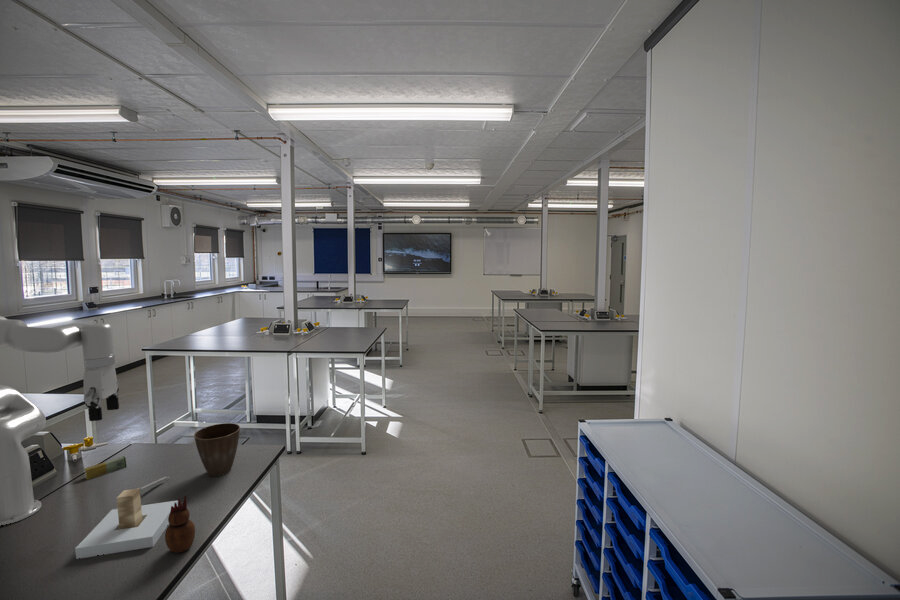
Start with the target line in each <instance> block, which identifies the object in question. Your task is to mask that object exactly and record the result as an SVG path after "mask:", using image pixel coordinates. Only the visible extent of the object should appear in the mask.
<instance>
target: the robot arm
mask: <svg viewBox="0 0 900 600" xmlns="http://www.w3.org/2000/svg"><path fill="white" fill-rule="evenodd" d="M78 347H81V348H82V356H83V357H82V358H83V359H82V360H83V367H84V373H83V401H84V402H85V406H86V409H87V410H88V421H89V422H97V421H98V422H99V421H102V420H103V411H102V407H101V404H102V402H103V400H105V402H106V410H107V411H115V410H120V403H119V385H120V382H119V381H118V377H117V372H116V368H115V367H116V357H115V356H116V355H115V348H114V347H115V345H114V336H113V328H112V325H111V324H109V323H107V322H101V323H100V322H99V323H98V322H97V323H81V322H80V323H79V322H73V323H68V324H63V325H62V324H61V325H57V326H52V327H35V326H28V325H27V323H26V322H24V321H23V320H21V319H8V318H6V317H4V316H3V315H0V348H11V349H13V350H16V351H19V352H25V353H45V354H47V353H49V354H50V353H58V352H64V351H66V350H70V349H75V348H78ZM46 424H47V419H46V416H45V414H44V413H43V411H42V410H41V409H40V408H39V407H38V406H37V405H35V404H34V403H33V402H31V401H30V400H29V398H27V397H26V396H24V395H23V394H22V393H21V392H19V390H17V389H15V388H13V387H12V386H8V385H4V384H0V527H2V526H1V525H3V526H7V525H10V523H11V524H13V523H16V522H19V521H22V520H24V519H26V518H28V517H30V516H32V515H34V514H36V513H37V512H38V511H39V510H41V508H42V502H41V501H40V500H37V499H35V498H34V490H33V489H34V488H33V482H32V472H31V463H30V457H29V453H28V451H27V449H26V448H24V447H23V445H22V442H23V441H25V440H27V439H29V438H31V437H33V436H34V435H36V434H38V433H40V432H42V430H43V429H44V428H45V427H46ZM6 524H7V525H6Z"/></svg>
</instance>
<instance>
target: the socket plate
mask: <svg viewBox="0 0 900 600" xmlns="http://www.w3.org/2000/svg"><path fill="white" fill-rule="evenodd" d="M175 502H176V504H177V507H178V499H177V500H170V501H164V502H163V501H162V502H157V503H150V504H144V505H143V504H141V509H142V520H143V521H142V522H141V524H140V525H139V526H138V527H134V528H127V529H119V519H118V508H114V509H111V510H110V511H109V512H108V513H107V514H106V515H105V517H103V518H102V519H101V520H100V522H99V523H98V524H97V525H96V526H95V527H94V528H93V529H92V530H91V531H90V532H89V533H88V534H87V535H86V537H85V538H83V540H82V541H81V542H80V543H79V544H78V545H77V546H76V547H75V548H74V550H75V559H76V560H79V558H80V559H85V558H91V557H97V555H99V556H103V554H104V555H110V554H115V553H117V554H118V553H123V552H128V551H134V550H142V549H147V548H153V547H154V546H155V545H156V543H157V542H158V541H159V540H160V538H161V536H162V534H163V533H164V531H166V530H167V527H168V526H169V525H170V524H169V522H168V517H169V514H170V511H171V506H173V507H174V503H175ZM167 525H168V526H167Z"/></svg>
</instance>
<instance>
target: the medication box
mask: <svg viewBox="0 0 900 600" xmlns="http://www.w3.org/2000/svg"><path fill="white" fill-rule="evenodd" d="M127 467H128V466H127V459H126V456H123V455H122V456H120V457H116V458H114V459H110V460H107V461H104V462H101V463H98V464H95V465H92V466H87V467H85V468H84V476H85V477H84V478H85V479H86V481H87V480H88V479H89V480H92V479H94V477H95V478H97V477H100V476H103V475H106V474H109V473H113V472H116V471H119V470H122V469H125V468H127Z"/></svg>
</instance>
